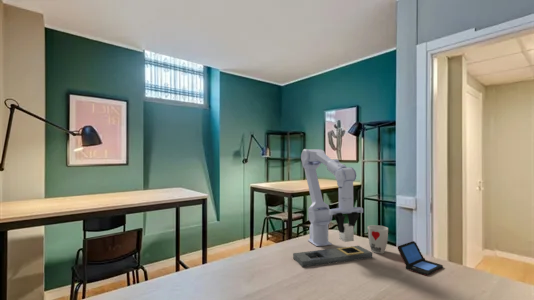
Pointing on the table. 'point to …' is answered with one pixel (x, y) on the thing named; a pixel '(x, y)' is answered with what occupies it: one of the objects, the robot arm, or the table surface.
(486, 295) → the table surface
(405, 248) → the handheld game console
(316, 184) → the robot arm
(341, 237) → the steel block
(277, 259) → the table surface
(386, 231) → the cup
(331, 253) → the grey slotted board
